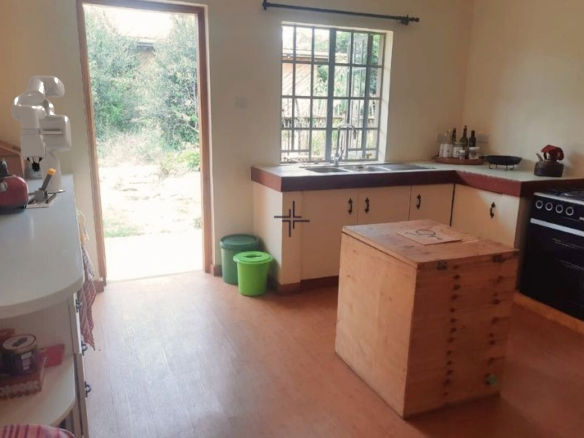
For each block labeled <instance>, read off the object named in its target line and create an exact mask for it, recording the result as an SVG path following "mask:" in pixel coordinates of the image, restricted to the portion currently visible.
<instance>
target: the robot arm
mask: <svg viewBox="0 0 584 438" xmlns="http://www.w3.org/2000/svg"><path fill="white" fill-rule="evenodd" d="M64 95H65V85H64V83H63V82H62V81H61V80H60V79H59V78H58V77H57V76H54V75H33V76H31V77H29V79H28V82H27V87H26V91H24V92H23V93H20V94H19V95H17V96H16V97H15V98H13V100H12V104H11V107H10V112H11V113H10V114H11V116H12V118H13V119H14V120H16V121H19V122H20V128H21V135H20V152H21V159H22V160H24V161H26V160H27V161H28V162H29V163H30V164H31V168H32V170H33V172H40V174H41V181H42V184H43V183H44V180H45V178H46V176H47V174H48V171H49V169H51V168H52V169H54V170H56V172H55V174H54V175H53V177H52V179H51V181H50V183H49V186H48V188H47V191H48V194H55V193H56V194H58V193H63V192H66V191H67V188H65V187H63V180H62V171H61V164H60V158H59V157H58V156H57V155H56V154H55V153H56V152H69V151H71V150H72V146H73V145H72V130H71V121H70V119H69V116H67V115H65V114H55V113H56V112H55V106H54V104H53V103H52V102H51V101H50V100H49V99H47V98H63V97H64ZM34 158H35V159H34Z"/></svg>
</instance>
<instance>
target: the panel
mask: <svg viewBox="0 0 584 438" xmlns="http://www.w3.org/2000/svg"><path fill="white" fill-rule="evenodd" d="M40 189H41V187H38V189H37V190H34V195H33V197H31V198H30V199H28V200H27V201H28V205H27V207H26V208H25V209H34V208H35V209H36V208H38V209H39V208H50V207H51V206H52V205H53V204H54V203H55V202H56V201H57V200H58V199H59V194H57V193H52V195H49V193H48V191H47V190H46V192H45V193H44V190H40Z"/></svg>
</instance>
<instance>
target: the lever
mask: <svg viewBox="0 0 584 438" xmlns="http://www.w3.org/2000/svg"><path fill="white" fill-rule="evenodd" d="M55 172H56V170H54V169H52V168H51V169H49V171H48V174H47V176H46V178H45V180H44V183H43V182H42V185H41V187H40V188H41V189H40V190H44V193H45V192H46V190H47V188H48V186H49V183H50V181H51V179H52V177H53V175H54V174H55Z"/></svg>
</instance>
